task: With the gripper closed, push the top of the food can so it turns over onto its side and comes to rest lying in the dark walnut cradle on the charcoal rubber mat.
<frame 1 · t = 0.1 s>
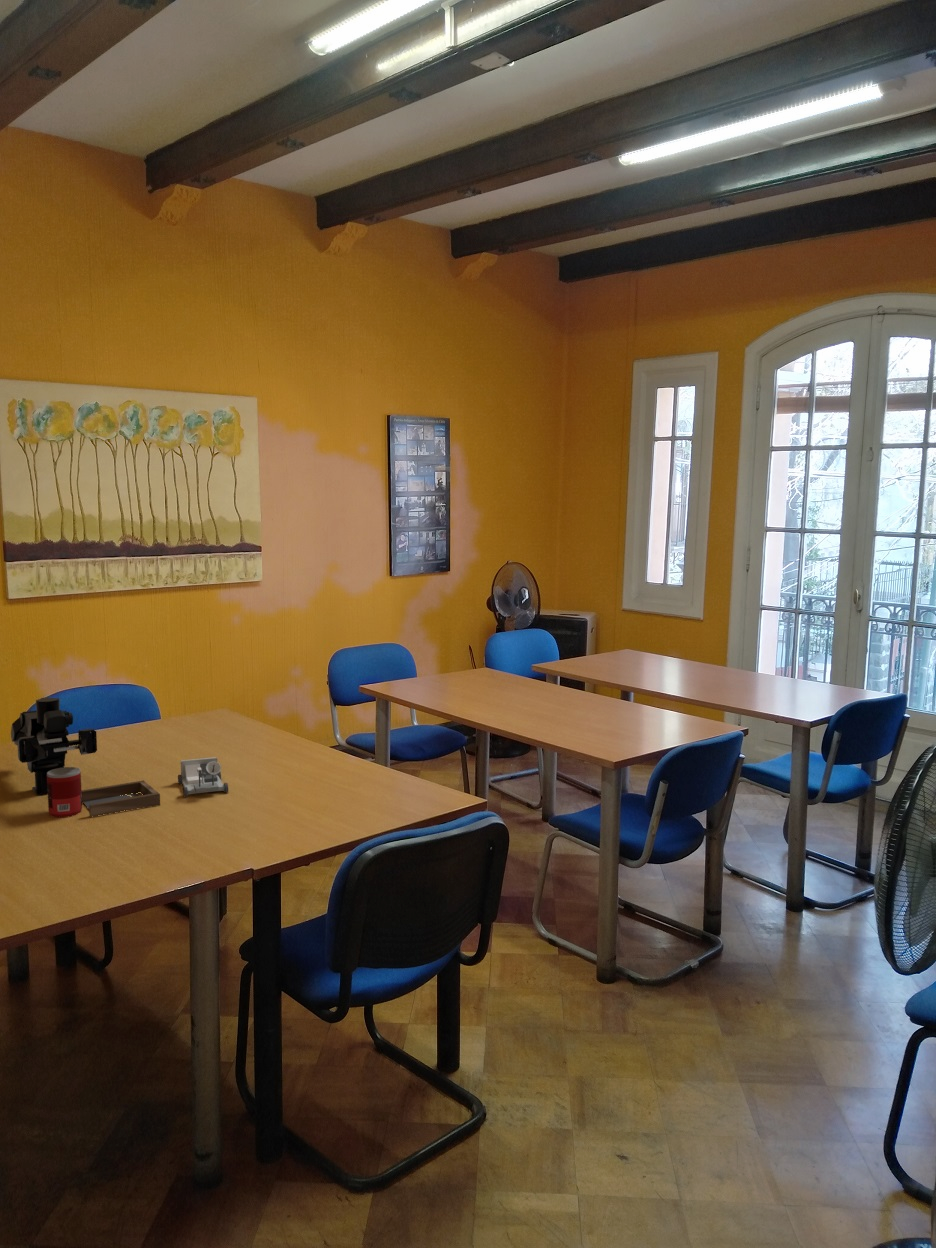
hand: (65, 752, 237), 17 cm above the table, tool horizontal, fingers open, 9 cm apart
cradle: (115, 804, 249), on the table
toy car: (203, 791, 263), on the table
mat: (115, 804, 249), resting in cradle
canned food: (65, 813, 242), on the table
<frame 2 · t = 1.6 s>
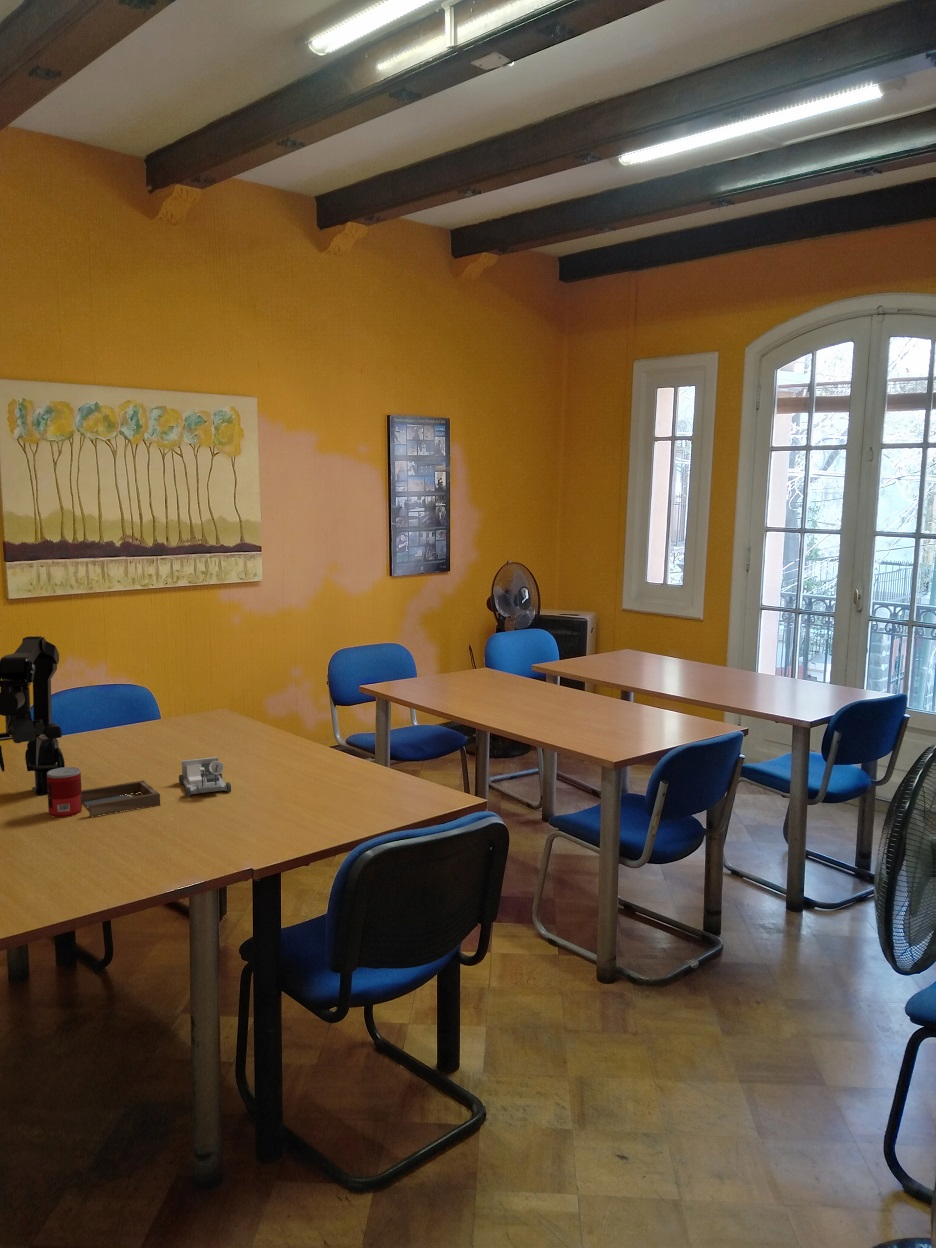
hand: (20, 768, 235), 13 cm above the table, tool pointing down, fingers open, 8 cm apart
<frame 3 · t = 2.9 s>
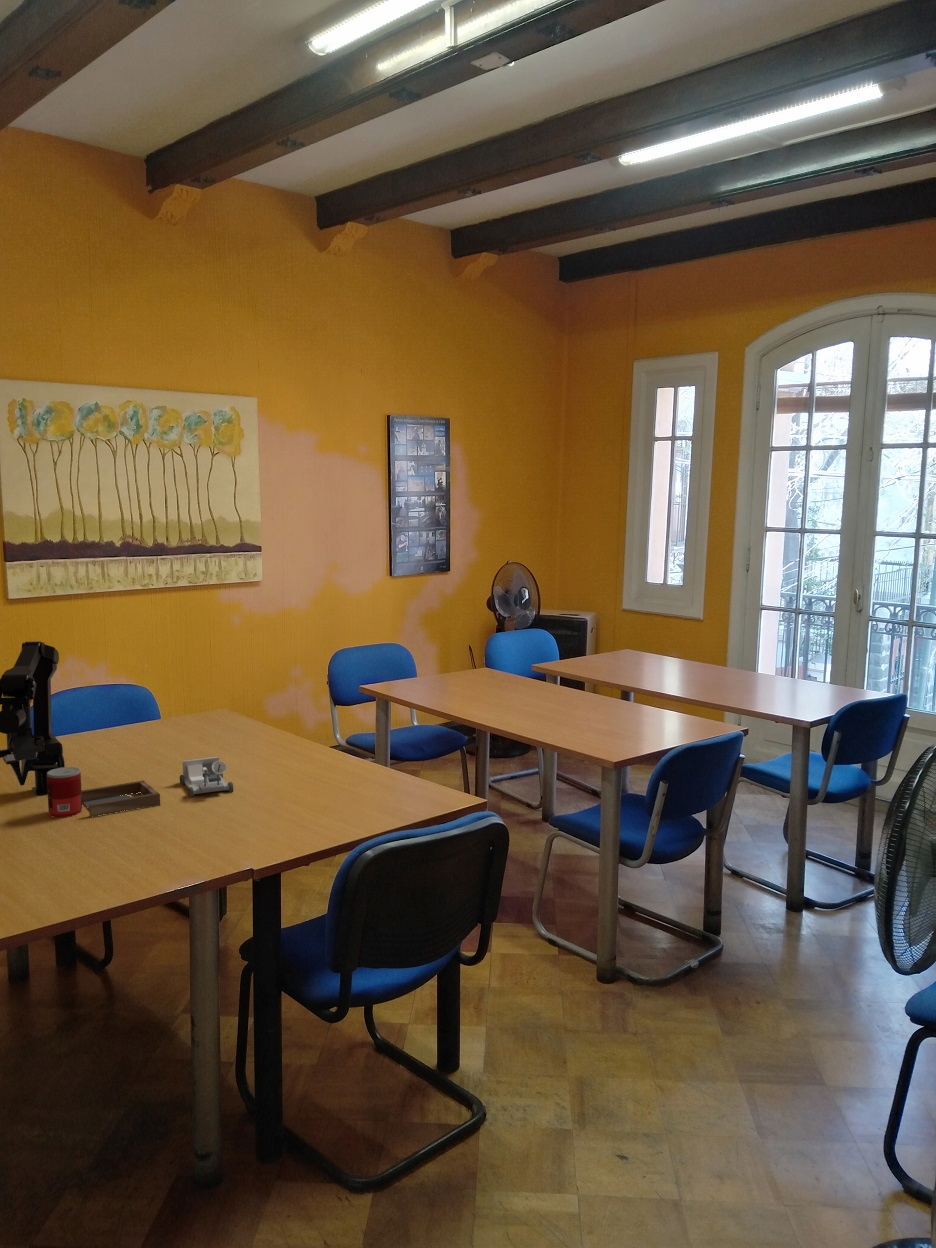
hand: (22, 785, 235), 9 cm above the table, tool pointing down, fingers closed
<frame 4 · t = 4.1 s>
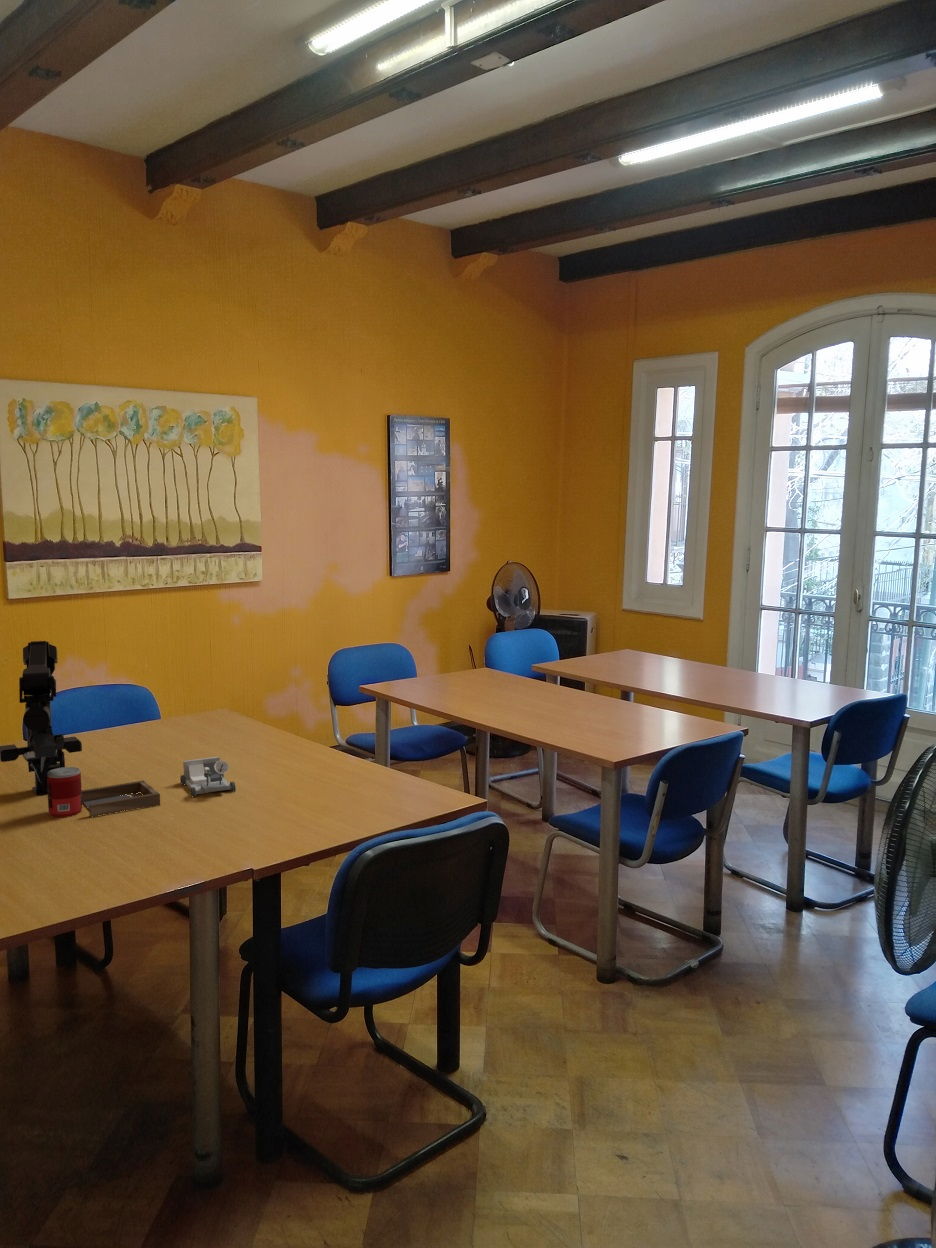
hand: (41, 782, 238), 9 cm above the table, tool pointing down, fingers closed
canned food: (65, 813, 242), on the table, touching gripper
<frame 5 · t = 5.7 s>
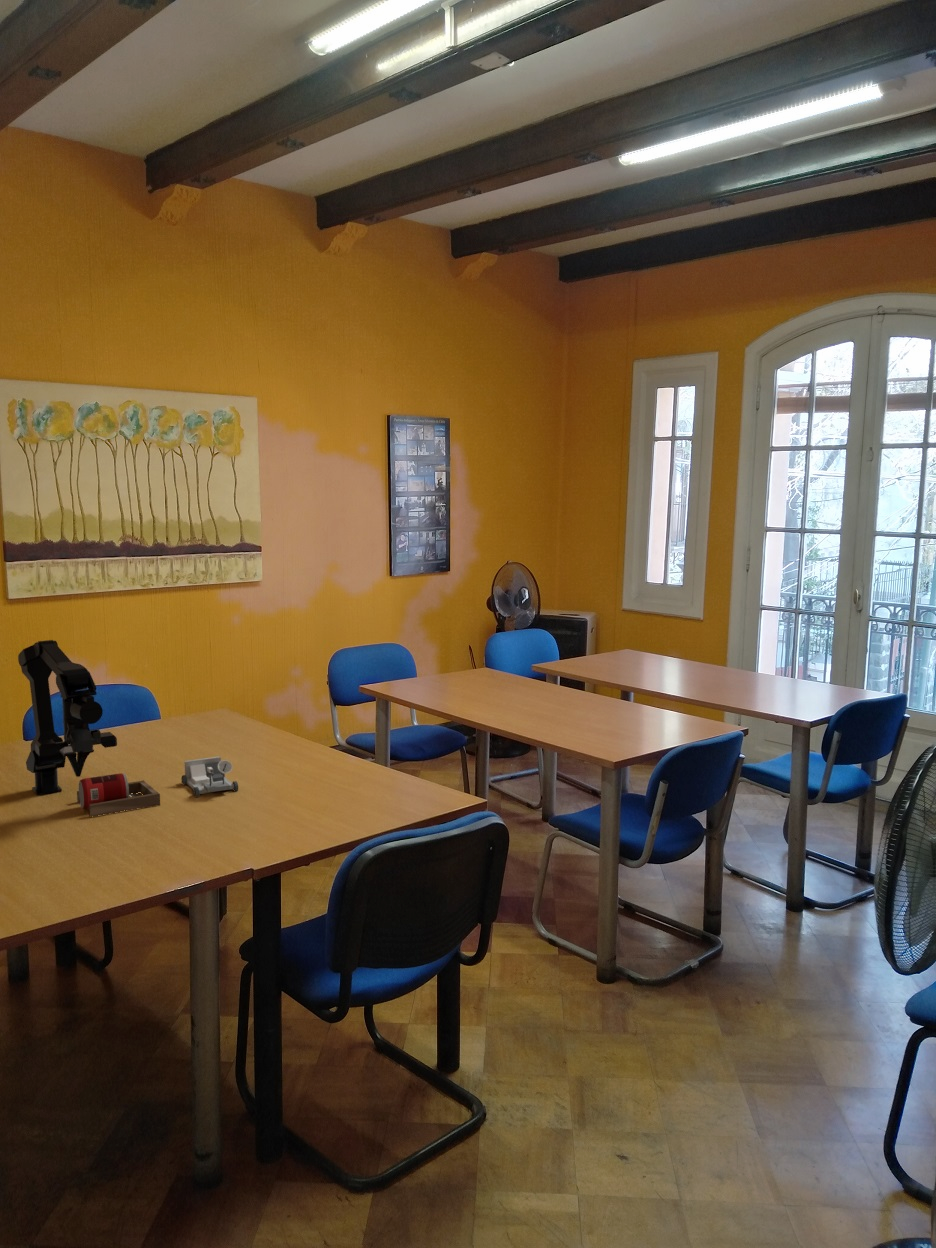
hand: (78, 776, 243), 9 cm above the table, tool pointing down, fingers closed
canned food: (80, 794, 243), point 4 cm above the table, touching mat
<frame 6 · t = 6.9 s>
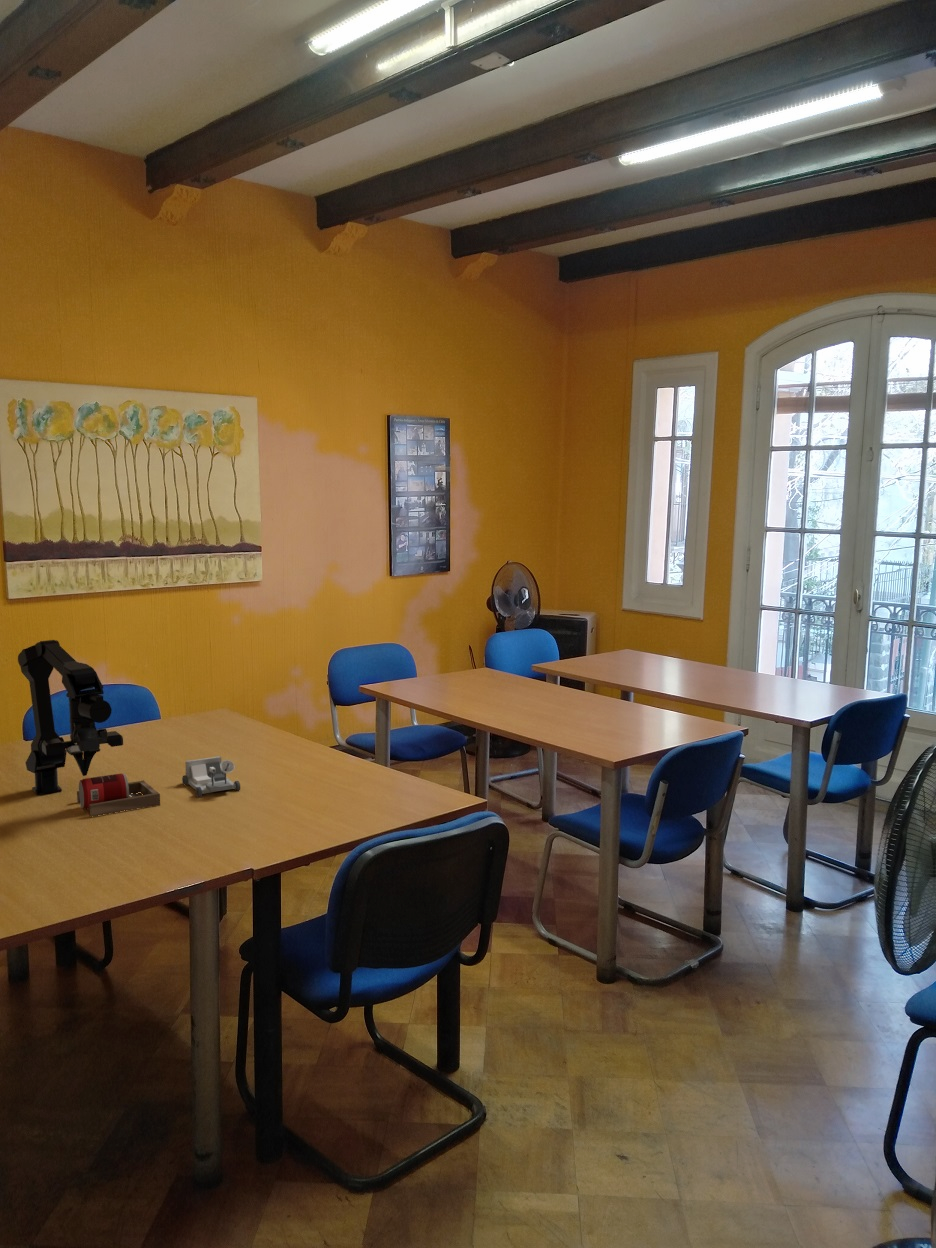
hand: (84, 775, 244), 9 cm above the table, tool pointing down, fingers closed
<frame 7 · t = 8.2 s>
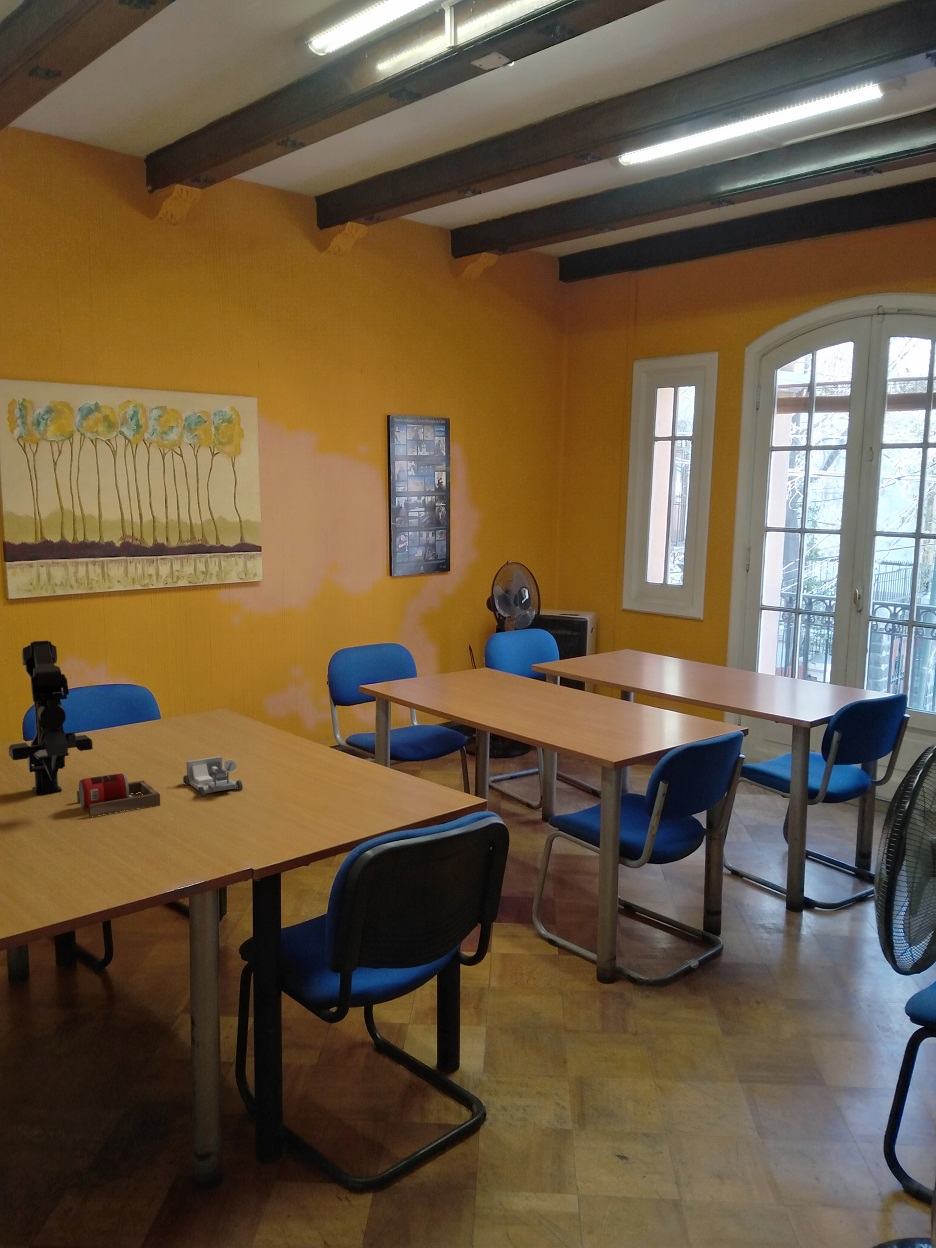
hand: (52, 780, 239), 9 cm above the table, tool pointing down, fingers closed
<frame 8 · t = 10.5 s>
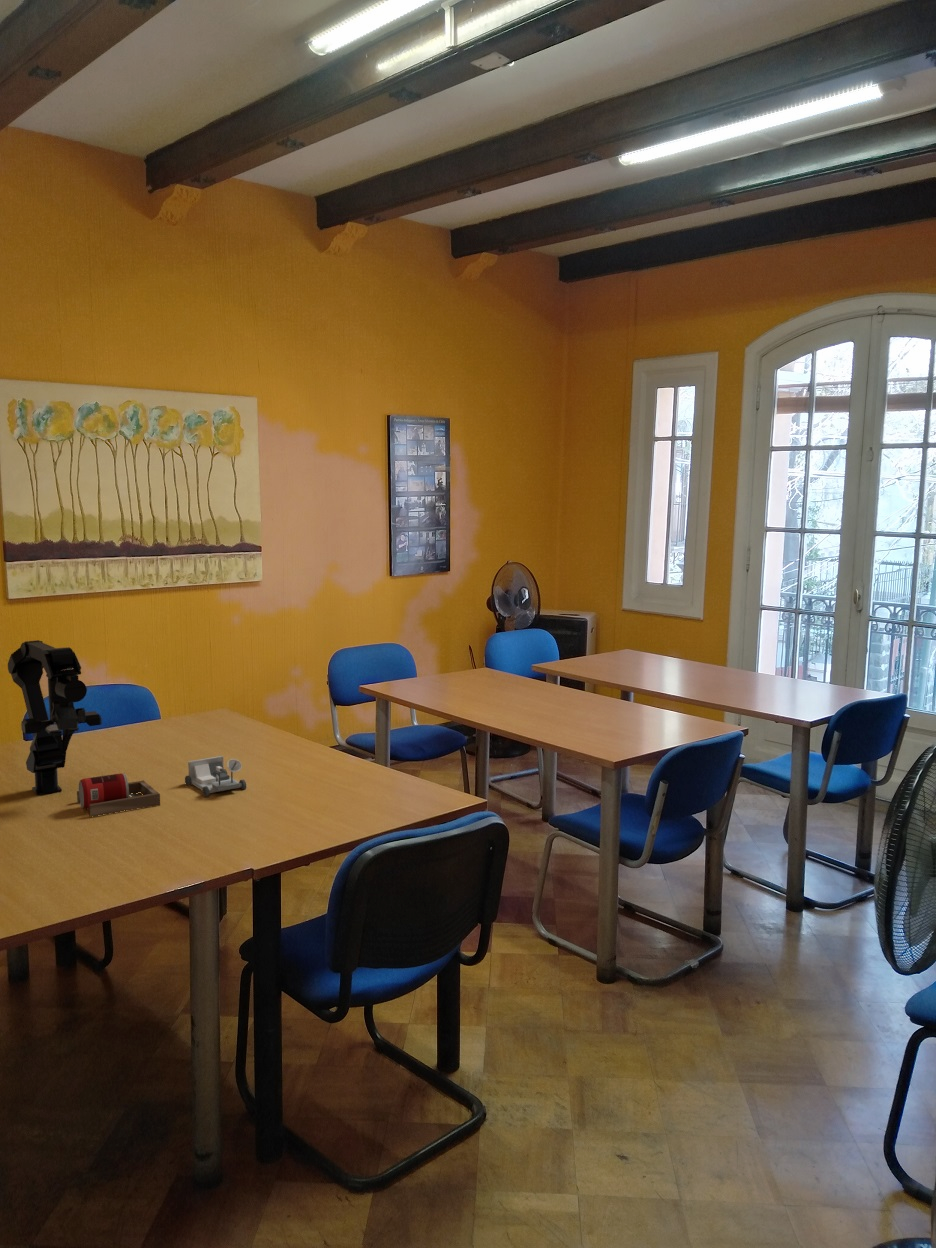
hand: (63, 754, 249), 13 cm above the table, tool pointing down, fingers closed
at the end: canned food tilted 90°; canned food inside the target area (7.4 cm from its centre), point 4.3 cm above the table; canned food touching mat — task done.
